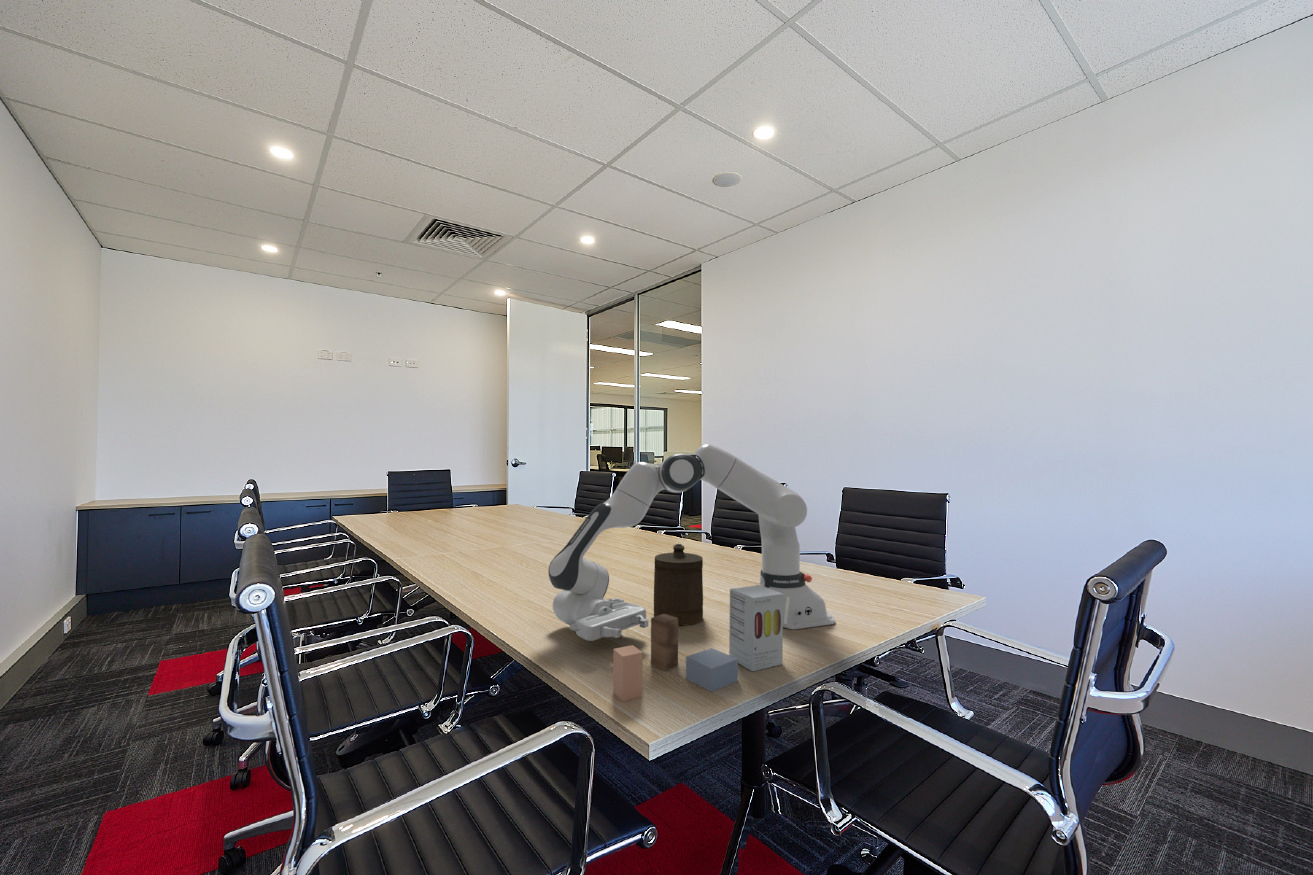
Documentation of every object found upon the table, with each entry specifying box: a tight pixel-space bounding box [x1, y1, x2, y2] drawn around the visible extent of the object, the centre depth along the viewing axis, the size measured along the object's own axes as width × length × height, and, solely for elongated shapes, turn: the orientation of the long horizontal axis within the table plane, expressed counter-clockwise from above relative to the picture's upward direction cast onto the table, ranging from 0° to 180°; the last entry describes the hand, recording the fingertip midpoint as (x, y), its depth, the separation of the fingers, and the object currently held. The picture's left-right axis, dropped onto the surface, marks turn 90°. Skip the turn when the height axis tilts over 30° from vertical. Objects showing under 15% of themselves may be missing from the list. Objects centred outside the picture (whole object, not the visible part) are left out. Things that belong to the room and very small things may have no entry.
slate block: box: [685, 647, 739, 693], centre depth 113 cm, size 8×8×5 cm
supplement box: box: [728, 584, 784, 672], centre depth 123 cm, size 10×9×17 cm
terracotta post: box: [612, 644, 644, 702], centre depth 106 cm, size 4×4×9 cm
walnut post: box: [650, 614, 679, 672], centre depth 121 cm, size 4×4×11 cm
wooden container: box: [653, 543, 704, 627], centre depth 155 cm, size 15×15×22 cm
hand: (633, 628), depth 128 cm, fingers open, 8 cm apart
